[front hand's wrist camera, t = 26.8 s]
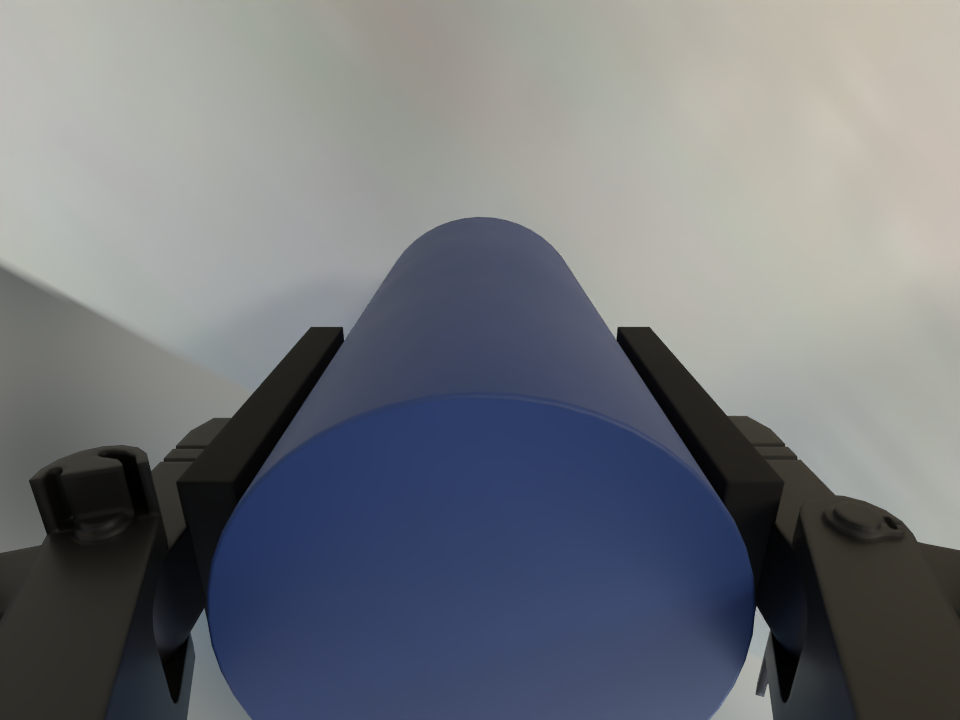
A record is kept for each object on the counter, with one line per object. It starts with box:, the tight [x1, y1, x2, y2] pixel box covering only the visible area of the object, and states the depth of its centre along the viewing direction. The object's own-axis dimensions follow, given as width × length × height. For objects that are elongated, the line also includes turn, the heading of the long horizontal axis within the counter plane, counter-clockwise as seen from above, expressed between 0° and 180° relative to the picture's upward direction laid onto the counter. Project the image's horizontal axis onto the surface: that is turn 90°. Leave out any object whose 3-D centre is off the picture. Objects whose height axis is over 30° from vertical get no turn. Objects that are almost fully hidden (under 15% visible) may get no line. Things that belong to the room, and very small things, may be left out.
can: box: [207, 217, 755, 720], centre depth 13 cm, size 6×6×13 cm
